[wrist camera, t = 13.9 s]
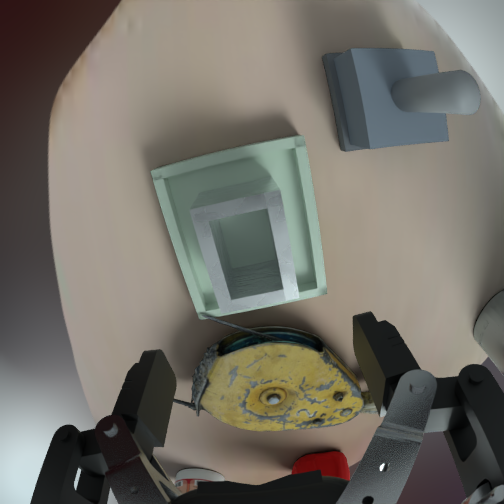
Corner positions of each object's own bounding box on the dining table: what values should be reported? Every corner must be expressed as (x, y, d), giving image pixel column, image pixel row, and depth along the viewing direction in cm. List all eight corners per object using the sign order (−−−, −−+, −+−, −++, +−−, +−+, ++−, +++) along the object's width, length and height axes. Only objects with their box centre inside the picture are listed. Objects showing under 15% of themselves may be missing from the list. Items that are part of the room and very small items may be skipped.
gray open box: (271, 176, 23) (280, 189, 18) (289, 267, 26) (299, 297, 22) (199, 192, 23) (189, 210, 19) (223, 280, 26) (221, 313, 22)
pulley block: (381, 453, 32) (162, 424, 27) (368, 426, 38) (169, 388, 32) (444, 381, 29) (202, 322, 23) (423, 356, 34) (206, 290, 29)
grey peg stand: (405, 55, 19) (494, 33, 9) (420, 140, 22) (513, 162, 12) (322, 56, 20) (385, 12, 9) (340, 150, 23) (415, 174, 12)
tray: (299, 134, 22) (303, 135, 21) (322, 283, 28) (327, 293, 26) (156, 167, 23) (150, 171, 21) (201, 308, 28) (199, 319, 27)
